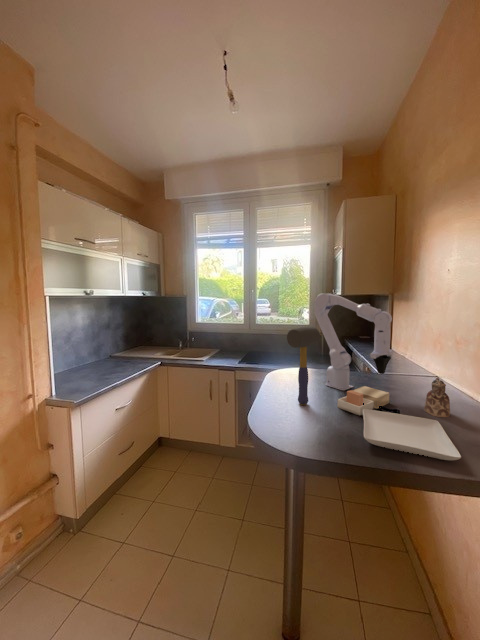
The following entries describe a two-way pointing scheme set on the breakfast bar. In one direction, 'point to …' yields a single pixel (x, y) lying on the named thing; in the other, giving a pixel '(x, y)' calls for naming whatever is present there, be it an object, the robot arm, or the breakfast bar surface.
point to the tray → (353, 408)
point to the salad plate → (408, 434)
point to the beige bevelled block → (374, 396)
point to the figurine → (437, 400)
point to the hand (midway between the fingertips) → (381, 373)
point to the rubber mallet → (303, 355)
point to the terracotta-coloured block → (355, 398)
